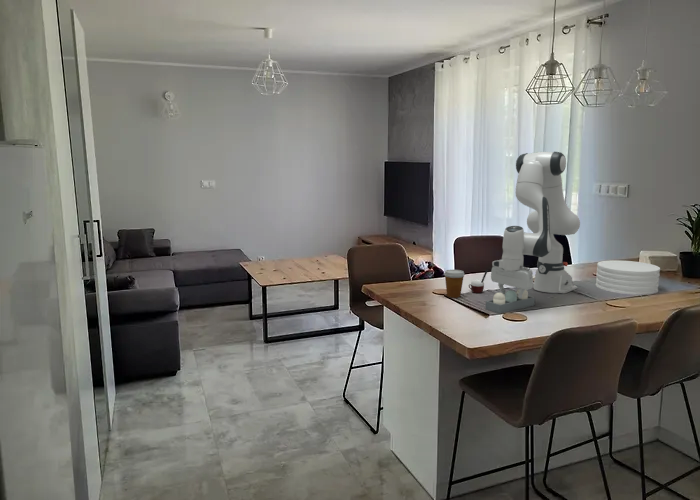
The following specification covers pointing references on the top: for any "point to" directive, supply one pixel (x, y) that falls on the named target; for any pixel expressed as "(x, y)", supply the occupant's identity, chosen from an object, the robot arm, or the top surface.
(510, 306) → the egg crate
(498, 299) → the outer cream egg
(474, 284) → the cocoa
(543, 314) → the top surface
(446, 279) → the disposable coffee cup
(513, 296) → the blue egg
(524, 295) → the inner cream egg
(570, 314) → the top surface
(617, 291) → the plate stack
